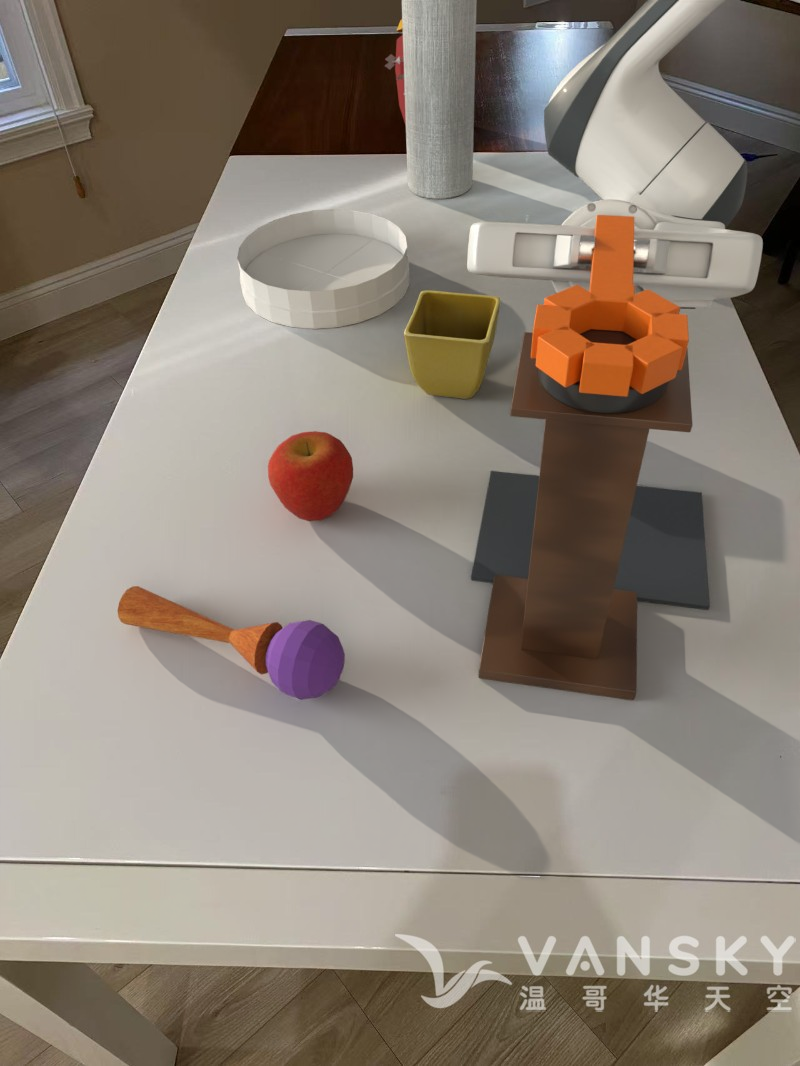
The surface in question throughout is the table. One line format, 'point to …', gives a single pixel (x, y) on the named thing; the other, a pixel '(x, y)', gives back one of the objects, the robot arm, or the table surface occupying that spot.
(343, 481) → the apple
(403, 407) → the table surface
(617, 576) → the mat
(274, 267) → the dish
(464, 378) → the flower pot
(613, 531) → the stand
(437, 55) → the vase
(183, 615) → the kendama
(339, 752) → the table surface
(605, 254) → the orange ring
